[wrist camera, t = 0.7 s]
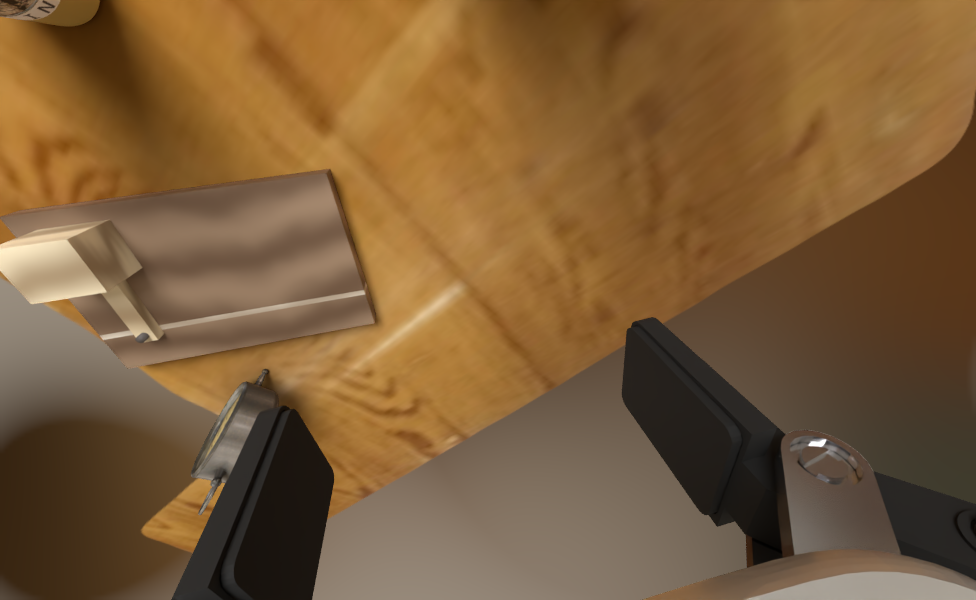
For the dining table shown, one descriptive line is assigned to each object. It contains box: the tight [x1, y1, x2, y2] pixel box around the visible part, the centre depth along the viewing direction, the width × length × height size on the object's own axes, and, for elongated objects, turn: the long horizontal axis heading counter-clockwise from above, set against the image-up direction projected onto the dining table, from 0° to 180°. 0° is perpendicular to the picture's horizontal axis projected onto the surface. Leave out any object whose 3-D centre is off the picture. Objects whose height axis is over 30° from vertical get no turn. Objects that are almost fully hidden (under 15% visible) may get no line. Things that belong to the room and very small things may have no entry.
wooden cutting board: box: [0, 169, 376, 368], centre depth 39 cm, size 18×28×2 cm, turn 96°
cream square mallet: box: [0, 220, 164, 343], centre depth 34 cm, size 13×6×5 cm, turn 6°
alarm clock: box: [191, 369, 279, 515], centre depth 42 cm, size 11×5×16 cm, turn 138°
